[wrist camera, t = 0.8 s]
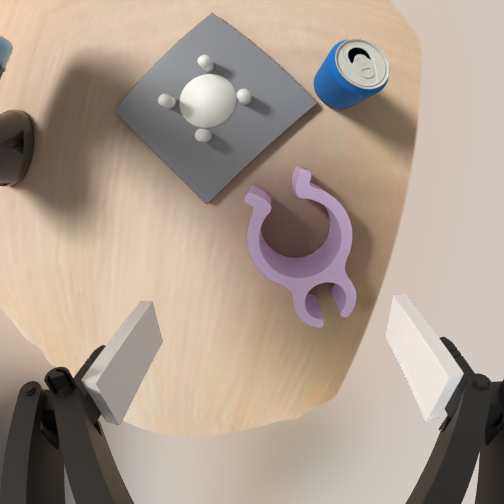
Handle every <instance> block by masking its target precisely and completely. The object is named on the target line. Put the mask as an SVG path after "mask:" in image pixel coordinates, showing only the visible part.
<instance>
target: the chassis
mask: <svg viewBox="0 0 504 504" xmlns="http://www.w3.org/2000/svg"><path fill="white" fill-rule="evenodd" d="M316 104H317V102H316V101H315V100H314V99H313V98H312V97H311V96H310V95H309V94H308V93H307V92H306V91H305V90H304V89H303V88H302V87H301V86H300V85H299V84H298V83H297V82H296V81H295V80H294V79H293V78H292V77H291V76H290V75H289V74H288V73H286V72H285V71H284V70H283V69H282V68H281V67H280V66H279V65H278V64H277V63H275V62H274V61H273V60H272V59H271V58H270V57H269V56H267V55H266V54H265V53H264V52H263V51H262V50H260V49H259V48H258V47H257V46H256V45H254V44H253V43H252V42H251V41H249V40H248V39H247V38H246V37H244V36H243V35H242V34H240V33H239V32H238V31H237V30H235V29H234V28H233V27H231V26H230V25H229V24H227V23H226V22H224V21H223V20H222V19H220V18H219V17H217V16H216V15H215V14H213V13H211V14H210V15H209V16H208V17H206V18H205V19H204V20H203V21H201V22H200V23H199V24H198V25H197V26H195V27H194V28H193V29H192V30H191V31H190V32H188V33H187V34H186V35H185V36H184V37H183V38H182V39H181V40H179V41H178V42H177V43H176V44H175V45H174V46H173V47H172V48H171V49H170V50H169V51H168V52H167V53H166V54H165V55H164V56H163V57H162V58H161V59H160V60H159V61H158V62H157V63H156V64H155V65H154V66H153V67H152V68H151V69H150V70H149V71H148V72H147V73H146V74H145V75H144V76H143V77H142V79H141V80H140V81H139V82H138V83H137V84H136V85H135V86H134V88H133V89H132V90H131V91H130V92H129V93H128V94H127V96H126V97H125V98H124V99H123V100H122V102H121V103H120V104H119V105H118V107H117V108H116V109H115V110H114V112H115V113H116V114H117V115H118V116H119V117H120V118H121V119H122V120H123V121H124V122H125V123H126V124H127V125H128V126H129V127H130V128H131V129H132V130H133V131H134V132H135V133H136V134H137V135H138V136H139V137H140V138H141V139H142V140H143V141H144V142H145V143H146V144H147V145H148V146H149V147H150V148H151V149H152V150H153V151H154V152H155V153H156V154H157V155H158V156H159V157H160V158H161V159H162V160H163V161H164V162H165V163H166V164H167V165H168V166H169V167H170V168H171V169H172V170H173V171H174V172H175V173H176V174H177V175H178V176H179V177H180V178H181V179H182V180H183V181H184V182H185V183H186V184H187V185H188V186H189V187H190V188H191V189H192V190H193V191H194V192H195V193H196V194H197V195H198V196H199V197H200V198H201V199H202V200H203V201H204V202H205V203H206V204H208V203H209V202H210V201H211V200H212V199H213V198H214V197H215V196H216V195H217V194H218V193H219V192H220V191H221V190H222V189H223V188H224V187H225V186H226V185H227V184H228V183H229V182H230V181H231V180H232V179H233V178H234V177H235V176H236V175H237V174H238V173H239V172H241V171H242V170H243V169H244V168H245V167H246V166H247V165H248V164H249V163H250V162H251V161H252V160H253V159H254V158H255V157H256V156H258V155H259V154H260V153H261V152H262V151H263V150H264V149H265V148H266V147H267V146H268V145H270V144H271V143H272V142H273V141H274V140H275V139H276V138H277V137H278V136H280V135H281V134H282V133H283V132H284V131H285V130H286V129H288V128H289V127H290V126H291V125H292V124H293V123H294V122H296V121H297V120H298V119H299V118H300V117H301V116H303V115H304V114H305V113H306V112H307V111H308V110H310V109H311V108H312V107H313V106H314V105H316Z"/></svg>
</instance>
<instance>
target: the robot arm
mask: <svg viewBox="0 0 504 504" xmlns="http://www.w3.org/2000/svg"><path fill="white" fill-rule="evenodd" d="M12 49H13V47H12V44H11V42H10V41H9V40H7V39H5V38H3V37H1V36H0V79H1V77H2V74H3V72H5V70H6V65H7V62H8V60H9V58H10V55H11V53H12ZM33 145H34V135H33V127H32V124H31V121H30V118H29V117H28V115H27V114H26V113H25V112H24V111H21V110H9V111H6V112H4V113H2V114H0V186H4V187H5V186H10V185H14V184H17V183H18V182H20V181H21V180H22V179H23V177H24V176H25V174H26V172H27V170H28V168H29V165H30V162H31V158H32V154H33ZM385 338H386V339H387V341H388V343H389V345H390V347H391V349H392V351H393V353H394V355H395V357H396V359H397V361H398V363H399V365H400V367H401V369H402V371H403V373H404V375H405V377H406V379H407V382H408V384H409V386H410V388H411V390H412V392H413V395H414V397H415V399H416V401H417V403H418V405H419V408H420V410H421V412H422V415H423V417H424V419H425V421H426V422H427V421H430V420H433V419H437V418H439V417H440V416H441V414H442V413H443V411H444V409H445V410H446V412H447V414H448V415H447V417H446V418H445V420H444V422H443V423H442V425H441V426H440V428H439V430H441V431H440V434H439V437H438V439H437V441H436V444H435V447H434V449H433V451H432V453H431V456H430V458H429V460H428V462H427V464H426V466H425V468H424V470H423V472H422V474H421V476H420V478H419V480H418V482H417V484H416V486H415V488H414V490H413V492H412V493H411V495H410V497H409V499H408V500H407V502H406V504H461V503H462V501H463V498H464V496H465V493H466V491H467V488H468V485H469V482H470V480H471V477H472V474H473V471H474V468H475V464H476V461H477V458H478V454H479V451H480V459H479V474H478V483H477V492H476V499H475V504H504V380H503V381H501V382H491V381H490V379H489V378H487V377H486V376H485V375H482V374H475V373H474V372H473V370H472V369H471V367H470V366H469V365H468V363H467V362H466V360H465V359H464V358H463V356H461V353H460V352H459V351H458V350H457V348H456V347H455V345H454V344H453V343H452V342H451V341H449V340H448V339H447V338H445V337H441V338H439V337H438V336H437V334H436V333H435V332H434V330H433V329H432V328H431V327H430V325H429V324H428V323H427V321H426V320H425V319H424V317H423V316H422V315H421V313H420V312H419V311H418V310H417V308H416V307H415V306H414V305H413V304H412V302H411V301H410V300H409V298H408V297H407V296H406V295H405V294H398V295H393V298H392V303H391V308H390V313H389V318H388V323H387V328H386V333H385ZM162 342H163V340H162V336H161V332H160V329H159V325H158V321H157V317H156V313H155V309H154V305H153V302H149V301H141V302H140V303H139V304H138V305H137V307H136V308H135V309H134V310H133V312H132V313H131V314H130V315H129V317H128V318H127V319H126V320H125V322H124V323H123V324H122V326H121V327H120V328H119V329H118V331H117V332H116V333H115V335H114V336H113V337H112V339H111V340H110V341H109V343H108V344H107V345H106V346H104V345H102V346H100V347H99V348H97V349H96V350H94V352H93V353H92V354H91V356H90V357H89V359H87V361H86V362H85V364H84V365H83V366H82V367H81V369H80V370H79V371H78V373H77V374H76V375H75V377H74V378H73V377H72V375H71V374H70V372H69V370H68V369H67V368H65V367H57V368H54V369H52V370H50V371H49V372H48V373H47V374H46V376H45V380H44V381H45V382H46V384H47V386H48V387H49V389H50V390H43V389H42V387H41V385H40V384H39V383H38V382H35V381H32V382H28V383H26V384H25V385H24V386H23V387H22V388H21V390H20V392H19V395H18V399H17V402H16V406H15V410H14V413H13V417H12V422H11V426H10V431H9V435H8V440H7V446H6V451H5V457H4V464H3V472H2V481H1V493H0V504H65V491H64V464H65V468H66V472H67V475H68V479H69V483H70V486H71V490H72V493H73V496H74V499H75V502H76V504H134V502H133V500H132V499H131V496H130V495H129V493H128V490H127V488H126V486H125V484H124V482H123V480H122V478H121V475H120V473H119V471H118V469H117V466H116V464H115V461H114V459H113V456H112V454H111V451H110V449H109V446H108V443H107V441H106V438H105V436H104V432H103V429H102V426H101V424H100V422H99V420H98V418H99V417H100V415H102V416H103V418H104V419H105V421H106V422H109V423H112V424H116V425H120V424H121V422H122V420H123V418H124V416H125V414H126V412H127V410H128V408H129V406H130V404H131V402H132V400H133V398H134V396H135V394H136V392H137V390H138V388H139V386H140V384H141V382H142V380H143V378H144V376H145V374H146V372H147V371H148V369H149V367H150V365H151V363H152V361H153V359H154V357H155V355H156V353H157V351H158V349H159V348H160V346H161V344H162ZM441 428H442V429H441Z"/></svg>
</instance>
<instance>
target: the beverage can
mask: <svg viewBox="0 0 504 504" xmlns="http://www.w3.org/2000/svg"><path fill="white" fill-rule="evenodd" d="M389 71H390V70H389V63H388V60H387V58H386V56H385V55H384V53H383V52H382V51H381V50H380V49H379V48H378V47H377V46H376V45H374V44H373V43H371V42H369V41H366V40H363V39H349V40H344V41H341V42H339V43H338V44H336V45H335V46H334V47H333V48H332V50H331V51H330V53H329V54H328V56H327V58H326V59H325V61H324V62H323V64H322V66H321V67H320V69H319V70H318V72H317V74H316V76H315V78H314V89H315V92H316V94H317V96H318V97H319V98H320V99H321V101H323V102H324V103H325V104H327V105H328V106H330V107H333V108H338V109H344V108H348V107H351V106H352V105H354V104H356V103H358V102H360V101H362V100H364V99H366V98H368V97H370V96H372V95H374V94H376V93H378V92H379V91H381V90H382V89H383V88H384V87H385V85H386V83H387V81H388V77H389Z"/></svg>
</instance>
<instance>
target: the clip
mask: <svg viewBox="0 0 504 504" xmlns="http://www.w3.org/2000/svg"><path fill="white" fill-rule="evenodd" d="M310 179H311V172H310V171H308V170H306V169H304V168H302V167H295V168H294V172H293V176H292V180H291V182H292V188H293V190H294V191H295V193H296V195H297V196H298V197H299V198H304V199H311V200H314V201H317V202H319V203H321V204H323V205H324V206H325V207H326V209H327V211H328V214H329V218H330V229H329V233H328V236H327V238H326V240H325V242H324V243H323V245H322V246H321V247H320V248H319V249H318V250H317V251H315V252H314V253H312V254H310V255H308V256H305V257H300V258H290V257H285V256H282V255H280V254H278V253H276V252H275V251H273V250H272V249H271V248H270V247H269V246H268V244H267V243H266V242H265V240H264V238H263V235H262V231H261V225H262V223H263V221H264V219H265V218H266V216H267V215H268V214H269V212H270V211H271V197H270V196H269V194H268V193H267V192H266V191H264V190H262V189H260V188H258V187H256V186H251V187H250V189H249V191H248V193H247V195H246V196H245V199H244V201H245V203H246V204H248V205H250V206H252V207H253V208H254V209H253V212H252V216H251V219H250V223H249V226H248V231H247V246H248V251H249V254H250V257H251V259H252V261H253V263H254V265H255V266H256V267H257V269H258V270H259V271H260V272H261V273H262V274H263V275H264V276H265V277H266V278H268V279H269V280H271V281H273V282H274V283H277V284H279V285H282V286H284V287H285V288H287V289H288V290H289V291H290V292H291V294H292V296H293V303H294V310H295V312H296V314H297V316H298V318H299V319H300V320H301V321H302V322H304V323H305V324H307V325H309V326H312V327H316V328H321V327H322V326H323V325H324V321H323V318H322V314H321V310H320V307H319V303H318V300H317V297H316V296H315V295H311V294H308V292H309V291H310V290H311V289H312V288H313V287H314V286H316V285H318V284H321V283H325V282H331V283H335V284H334V286H333V287H332V289H331V292H332V294H333V297H334V299H335V302H336V305H337V307H338V310H339V312H340V315H341V316H342V317H343V318H346V317H348V316H349V315H350V314H351V312H352V311H353V309H354V307H355V304H356V290H355V287H354V285H353V283H352V282H351V280H350V278H349V276H348V275H347V273H346V271H345V263H346V260H347V257H348V255H349V253H350V249H351V245H352V227H351V222H350V219H349V217H348V214H347V213H346V211H345V209H344V208H343V206H342V205H341V204H340V203H339V202H338V201H337V200H336V199H335V198H334V197H333V196H331V195H330V194H329V193H327V192H326V191H324V190H323V189H322V188H320V187H319V186H317V185H315V184H313V183H310Z"/></svg>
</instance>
